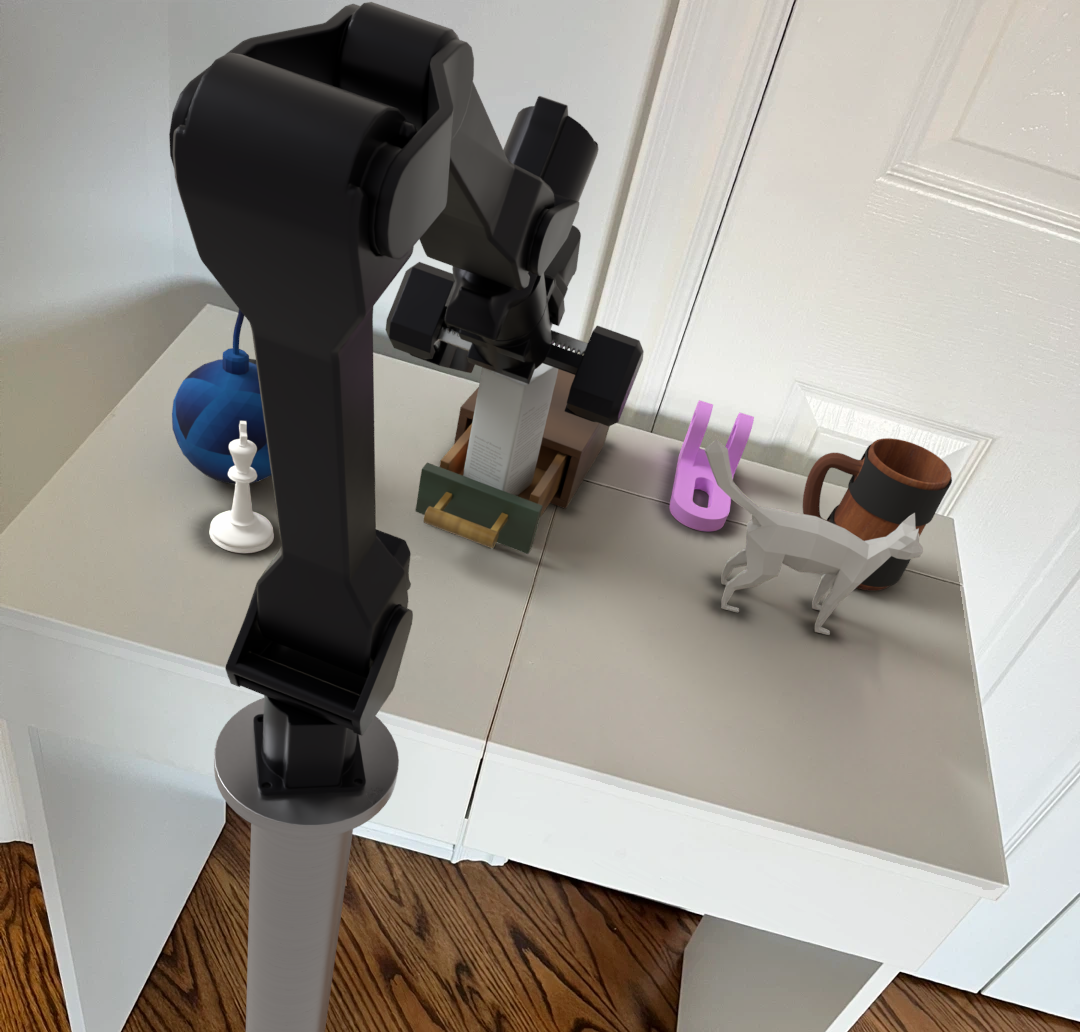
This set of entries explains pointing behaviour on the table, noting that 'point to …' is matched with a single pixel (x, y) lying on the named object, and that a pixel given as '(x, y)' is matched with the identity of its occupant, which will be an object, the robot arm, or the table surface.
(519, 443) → the cosmetic box
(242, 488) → the chess piece
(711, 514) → the bracket
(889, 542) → the cat figurine
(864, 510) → the mug
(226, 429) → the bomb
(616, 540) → the table surface
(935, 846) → the table surface
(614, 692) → the table surface
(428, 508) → the drawer
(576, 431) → the cabinet
